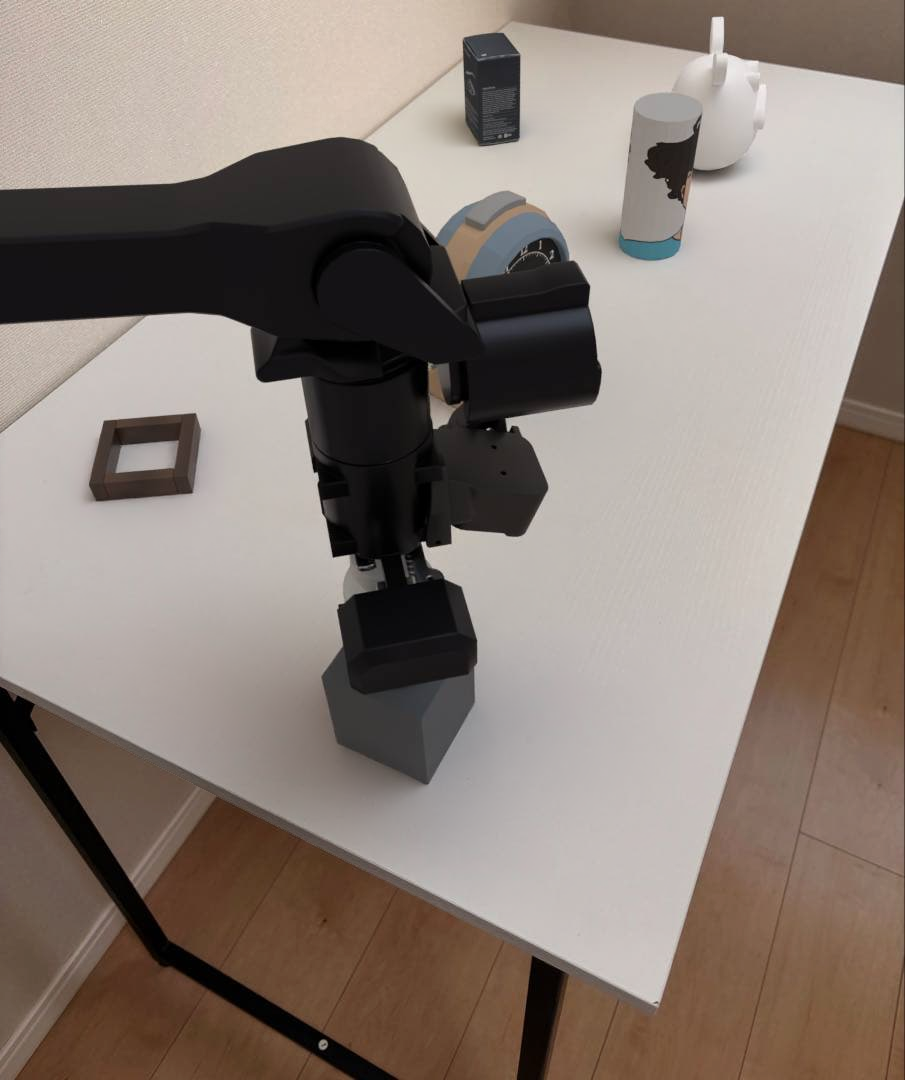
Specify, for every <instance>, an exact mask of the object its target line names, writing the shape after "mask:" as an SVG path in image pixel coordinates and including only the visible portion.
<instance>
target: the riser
mask: <svg viewBox="0 0 905 1080" xmlns="http://www.w3.org/2000/svg"><path fill="white" fill-rule="evenodd" d="M475 678H476V677H475V667H474V668H473V670H472V671H471V672H470V674H469V675H464V676H459V677H454V678H449V679H444V680H439V681H433V682H428V683H423V684H418V685H413V686H408V687H403V688H398V689H393V690H387V691H382V692H377V693H372V694H367V695H363V694H361V693H359V692H358V691H356V690H354V689H352V688H351V687H350V682H349V677H348V671H347V666H346V660H345V654H344V648H343V646H341V648H340V649H339V651H338V652H337V654H336V655H335V656H334V658H333V659H332V661H331V662H330V663H329V665H328V667H327V668H326V669H325V670H324V672H323V673H322V675H321V682H322V685H323V691H324V694H325V698H326V703H327V706H328V711H329V716H330V720H331V724H332V728H333V732H334V736H335V741H336V743H337V744H339V745H341V746H343V747H346V748H347V749H350V750H352V751H353V752H356V753H358V754H360V755H363V756H365V757H367V758H369V759H371V760H373V761H376V762H378V763H380V764H383V765H384V766H386V767H388V768H391V769H393V770H396V771H397V772H400V773H402V774H404V775H406V776H408V777H410V778H413V779H415V780H417V781H419V782H421V783H424V784H426V785H429V784H430V782H431V780H432V779H433V776H434V775H435V773H436V771H437V769H438V768H439V767H440V764H441V762H442V761H443V759H444V757H445V756H446V754H447V752H448V751H449V749H450V747H451V745H452V744H453V742H454V740H455V738H456V736H457V735H458V733H459V731H460V729H461V727H462V726H463V724H464V722H465V721H466V719H467V718H468V715H469V714H470V712H471V710H472V709H473V708H474V705H475V703H476V686H475V685H476V684H475V682H476V680H475Z"/></svg>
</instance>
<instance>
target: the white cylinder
mask: <svg viewBox="0 0 905 1080" xmlns="http://www.w3.org/2000/svg"><path fill="white" fill-rule="evenodd" d="M702 112H703V106H702V104H701V103H700V102H699V101H698V100H697V99H694V98H692V97H690V96H687V95H683V94H679V93H671V92H669V91H667V92H655V93H649V94H646V95H643V96H641V97H639V98H638V99H636V100H635V103H634V105H633V111H632V121H631V129H630V138H629V147H628V155H627V165H626V173H625V181H624V190H623V191H624V192H623V199H622V209H621V217H620V226H619V234H618V235H619V236H618V246H619V248H620V249H621V251H622V252H624V253H625V254H627V255H628V256H630V257H632V258H636V259H639V260H645V261H659V260H664V259H668V258H671V257H672V256H675V255H676V254H677V253H678V252H679V251H680V247H681V243H682V237H683V231H684V225H685V220H686V214H687V207H688V202H689V195H690V189H691V183H692V177H693V170H694V168H693V166H694V160H695V154H696V148H697V142H698V136H699V130H700V124H701V118H702Z"/></svg>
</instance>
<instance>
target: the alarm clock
mask: <svg viewBox="0 0 905 1080" xmlns="http://www.w3.org/2000/svg"><path fill="white" fill-rule="evenodd" d="M435 237H436V239H437V240H438V241H439V242H440V243H441V244H442V245H443V246H444V247H445V248H446V250H447V252H448V255H449V257H450V260H451V262H452V265H453V267H454V270H455V272H456V275H457V277H458V280H459V282H460V285H461V280H464V279H471V278H479V277H486V276H493V275H500V274H507V273H514V272H522V271H528V270H533V269H536V268H539V267H542V266H544V265H547V264H552V263H557V262H565V261H570V251H569V248H568V244H567V241H566V239H565V236H564V235H563V233H562V232H561V230H560V229H559V227H558V225H557V224H556V223H555V222H553V221H552V220H551V218H550V217H549V216H548V214H547V212H546V211H545V210H543V209H541V208H539V207H538V206H536V205H533V204H531V203H528V202H527V198H526V197H525V196H523V195H520V194H518V193H515V192H512V191H511V190H499V191H497V192H494V193H492V194H490V195H488V196H485V197H484V198H483V199H480V200H477V201H475V202H472V203H470V204H468V205H465V206H463V207H462V208H461V209H459V210H458V211H457V212H456V213H454V214H453V215H452V216H451V217H450V218H449V219H448V221H447V222H445V224H444V225H443V226H442V227H441V228H440V230H439V231H438V233H437V235H436V236H435ZM430 367H431V369H428V372H429V391H430V395H432V396H434V397H436V398H437V399H439V400H441V401H443V402H444V403H446V402H445V399H444V396H443V393H442V389H441V385H440V380H439V375H438V369H437V365H434V364H431V365H430ZM462 403H463V401H461V403H460V404H455V405H450V406H451V407H453V408H455V410H456V409H457V408H458V407H459V406H460V405H461V404H462Z"/></svg>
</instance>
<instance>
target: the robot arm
mask: <svg viewBox="0 0 905 1080" xmlns="http://www.w3.org/2000/svg"><path fill="white" fill-rule="evenodd" d="M436 237H437V236H435V235H434V234H433V233H432V232H431V231H430V230H429V229H428V228H427V227H426V226H425V224H423V223H422V222H421V221H420V218H419V215H418V213H417V210H416V207H415V205H414V202H413V200H412V198H411V194H410V192H409V189H408V186H407V184H406V183H405V180H404V178H403V176H402V174H401V172H400V171H399V168H398V166H396V165H395V164H394V163H393V162H392V161H391V159H389V158H388V157H387V156H386V155H385V154H384V152H382V151H380V150H379V149H378V147H377V146H376V145H375V144H372V143H370V142H367V141H365V140H363V139H360V138H353V137H346V136H336V137H334V136H333V137H327V138H322V139H317V140H311V141H306V142H302V143H301V142H300V143H297V144H296V143H295V144H292V145H287V146H281V147H277V148H271V149H268V150H267V149H266V150H263V151H258V152H255V153H253V154H250V155H248V156H246V157H243V158H242V159H239V160H238V161H236V162H234V163H232V164H229V165H227V166H224V167H223V168H222V169H219V170H217V171H215V172H212V173H211V174H208V175H206V176H203V177H199V178H192V179H189V180H184V181H179V182H171V183H146V184H144V183H143V184H122V185H120V184H119V185H118V184H117V185H92V186H91V185H90V186H89V185H88V186H65V187H63V186H61V187H37V188H35V187H33V188H8V189H7V188H6V189H5V188H4V189H0V326H2V325H4V326H5V325H19V324H35V323H36V324H37V323H52V322H67V321H69V322H70V321H86V320H99V319H100V320H101V319H117V318H130V317H133V318H134V317H147V316H148V317H149V316H163V315H166V316H167V315H179V314H195V315H206V316H219V317H224V318H227V319H229V320H231V321H234V322H237V323H238V324H239V323H240V324H242V325H245V326H247V327H250V330H249V332H250V333H249V334H250V340H251V341H250V342H251V348H252V349H251V350H252V357H253V365H254V374H255V378H256V380H257V381H259V382H260V383H263V384H268V383H269V384H270V383H275V382H281V381H287V380H288V381H289V380H295V379H300V380H301V387H302V392H303V398H304V404H305V409H306V416H307V418H306V419H305V420H304V426H305V431H306V438H307V442H308V449H309V450H308V451H309V455H310V461H311V466H312V471H313V474H317V477H318V480H317V483H316V485H317V492H318V497H319V502H320V509H321V513H322V515H323V517H324V518H325V523H326V528H327V534H328V540H329V545H330V551H331V555H332V556H331V557H332V558H333V559H334V558H341V557H346V556H349V555H352V554H354V557H355V562H356V568H357V570H358V571H360V572H363V571H369V570H373V569H375V568H377V567H376V562H375V560H380V563H381V567H382V572H383V576H384V581H382V582H376V591H370V592H365V593H359V594H354V595H353V596H351V597H350V598H349V599H348V600H347V601H346V602H345V601H344V602H343V603H339V604H337V609H336V613H337V618H338V624H339V631H340V636H341V642H342V647H343V648H344V654H345V660H346V666H347V671H348V677H349V682H350V687H351V688H352V689H354V690H356V691H358V692H359V693H361V694H363V695H367V694H372V693H377V692H382V691H387V690H393V689H398V688H403V687H408V686H413V685H418V684H423V683H428V682H433V681H439V680H444V679H449V678H454V677H459V676H464V675H469V674H470V672H471V671H472V670H473V668H474V669H475V668H476V666H477V664H478V638H477V635H476V631H475V628H474V625H473V621H472V617H471V614H470V611H469V610H470V609H469V608H468V604H467V600H466V596H465V594H464V590H463V586H461V585H459V584H456V583H455V582H452V581H450V580H448V579H446V578H445V575H444V573H443V572H442V571H441V570H440V569H438V568H433V567H432V568H429V567H428V566H427V563H426V560H427V558H426V556H425V551H424V548H423V544H422V543H424V542H425V545H426V547H427V548H429V549H431V548H438V547H443V546H449V545H452V544H453V541H452V527H454V528H455V529H458V530H460V531H468V532H479V533H480V532H481V533H494V534H504V536H506V537H509V538H518V537H522V536H524V535H525V534H526V533H527V531H528V529H529V528H530V526H531V523H532V521H533V520H534V518H535V516H536V514H537V512H538V510H539V509H540V506H541V505H542V503H543V500H545V497H546V495H547V493H548V491H549V483H548V480H547V478H546V476H545V473H544V471H543V468H542V466H541V463H540V461H539V459H538V456H537V454H536V451H535V449H534V447H533V444H532V443H531V442H530V441H529V440H528V439H527V438H526V437H524V436H523V435H522V432H521V430H520V428H519V426H518V425H512V424H511V426H510V429H509V430H508V427H507V419H510V418H511V419H512V418H517V417H518V418H519V417H524V416H531V415H536V414H537V415H538V414H543V413H549V412H556V411H562V410H567V409H574V408H579V407H580V408H581V407H587V406H592V405H594V404H595V403H596V401H597V399H598V396H599V394H600V389H601V385H602V377H603V375H602V374H603V370H602V365H601V363H600V361H599V359H598V347H597V338H596V332H595V324H594V321H593V316H592V313H591V309H590V306H589V305H590V295H591V284H590V282H589V281H588V279H587V277H586V276H585V274H584V272H583V271H582V270H583V269H581V267H580V265H579V263H578V262H577V261H575V260H569V261H565V262H557V263H552V264H547V265H544V266H542V267H539V268H536V269H533V270H528V271H522V272H514V273H507V274H500V275H493V276H486V277H479V278H471V279H464V280H461V285H460V282H459V280H458V277H457V275H456V272H455V270H454V267H453V265H452V262H451V260H450V257H449V255H448V252H447V250H446V248H445V247H444V246H443V245H442V244H441V243H440V242H439V241H438V240H437V239H436ZM429 364H431V365H433V364H434V365H437V369H438V375H439V380H440V385H441V389H442V393H443V396H444V399H445V402H444V403H446V405H447V406H451V405H455V404H460V403H461V401H463V403H462V404H461V405H460V406H459V407H458V408H457V409H456V408H455V409H454V410H453V412H452V413H451V415H450V417H449V418H448V420H447V423H446V424H445V423H444V424H441V425H440V426H438V428H434V422H433V418H432V414H431V413H432V412H431V394H430V391H429V372H428V371H429ZM402 555H404V558H405V560H406V565H407V570H408V573H409V577H406V575H405V571H404V567H403V563H402V559H401V556H402ZM413 577H415V583H414V581H413Z"/></svg>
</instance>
